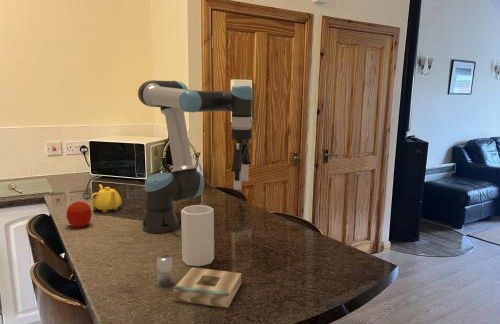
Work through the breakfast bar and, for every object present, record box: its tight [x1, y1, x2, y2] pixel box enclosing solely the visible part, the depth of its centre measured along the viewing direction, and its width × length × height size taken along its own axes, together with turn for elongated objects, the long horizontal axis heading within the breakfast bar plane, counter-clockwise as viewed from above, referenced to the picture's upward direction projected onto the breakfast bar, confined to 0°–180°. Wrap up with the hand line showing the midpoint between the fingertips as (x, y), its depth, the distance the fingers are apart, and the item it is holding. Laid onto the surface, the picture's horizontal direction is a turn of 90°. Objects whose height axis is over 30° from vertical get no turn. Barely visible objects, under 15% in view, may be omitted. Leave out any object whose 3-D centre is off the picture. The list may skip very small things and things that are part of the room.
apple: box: [66, 200, 93, 229], centre depth 167 cm, size 10×10×12 cm
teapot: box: [90, 184, 123, 214], centre depth 191 cm, size 20×15×12 cm
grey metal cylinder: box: [156, 254, 174, 287], centre depth 118 cm, size 5×5×8 cm
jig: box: [172, 266, 242, 309], centre depth 113 cm, size 16×14×4 cm
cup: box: [180, 204, 215, 267], centre depth 133 cm, size 11×11×18 cm
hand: (241, 184), depth 144 cm, fingers open, 13 cm apart
